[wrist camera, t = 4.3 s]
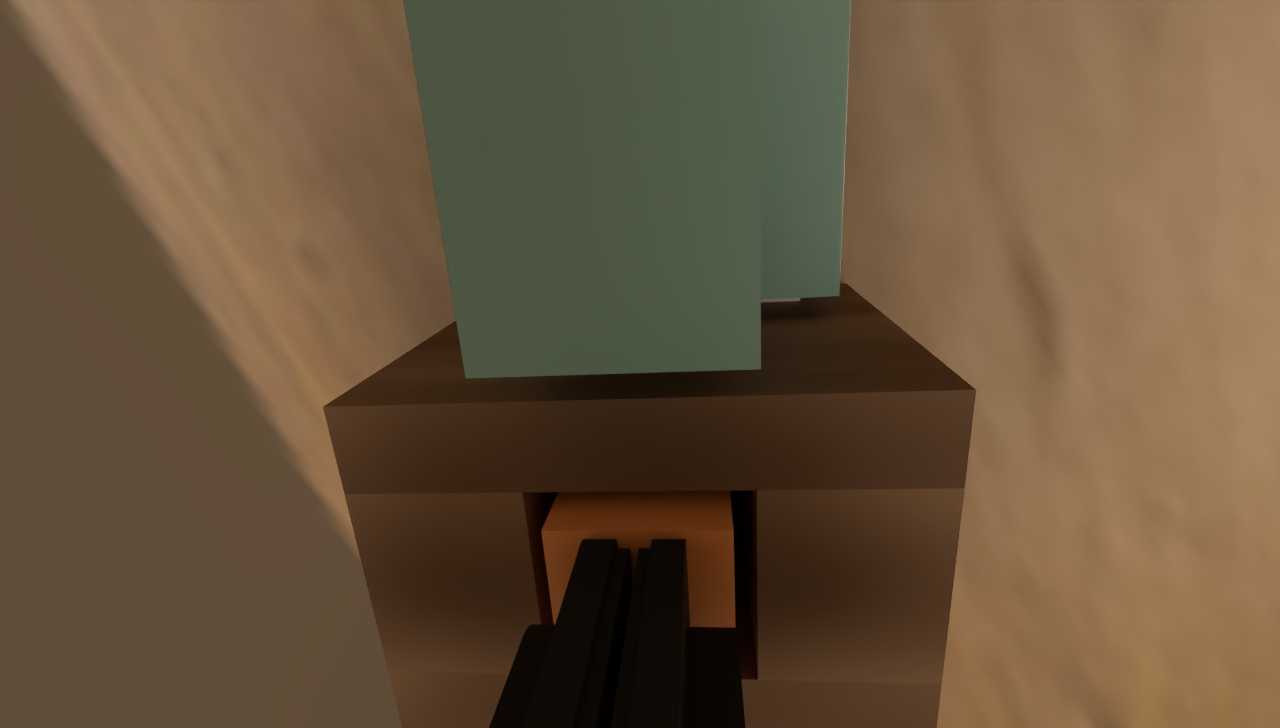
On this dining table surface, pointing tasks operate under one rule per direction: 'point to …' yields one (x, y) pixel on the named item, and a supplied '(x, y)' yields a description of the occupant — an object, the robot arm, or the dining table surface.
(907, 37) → the dining table surface
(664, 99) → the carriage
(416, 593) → the cabinet
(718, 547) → the plunger
